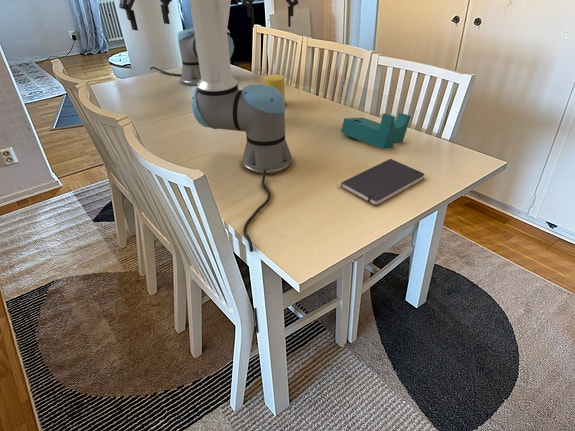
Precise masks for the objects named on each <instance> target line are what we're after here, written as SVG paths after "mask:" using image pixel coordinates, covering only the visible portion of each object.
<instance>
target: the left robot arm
mask: <svg viewBox="0 0 575 431" xmlns="http://www.w3.org/2000/svg"><path fill="white" fill-rule="evenodd" d="M159 1H160V3H161V4H160V10H161V15H162V20H163V24H165V25H171V22H170V18H169V17H170V16H169V14H170V7H169V5H170V4H171V2H173V0H159ZM223 1H224V10H225V20H226V29H227V38H228V47H229V56H230V59H231V58H232V56H233V54H234V51H235V50H234V49H235V44H234V40H233V38H232V37H231V32H230V30H229V29H228V25H229V18H230V11H231V10H230V9H231V1H232V0H223ZM135 2H136V0H119V4H118V7H119V9H121V10H124V11H125V14H126V17H127V20H128V21H129V22H130V26H131V30H132V31H139V29H138V24H137V20H136V14H135V10H134V9H133V6H134V3H135ZM177 43H178V46H179V47H178V48H179V53H180V59H181V63H182V67H181V73H173V72H169V71H168V72H167V71H164V70H162V69H161V68H160V69H159V68H158V67H155V66H151V67H150V69H149V70H156V71H157V72H161V73H163V74H165V75H168V76H169V75H170V76H176V77H180V82H181V83H182V84H183V85H187V86H197V83H198V82H199V81H200V80H201V73H200V67H199V60H198V54H197V47H196V41H195V34H194V28H193V27H192V28H187V29H183V30H179V31H178V33H177Z"/></svg>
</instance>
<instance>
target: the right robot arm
mask: <svg viewBox="0 0 575 431" xmlns="http://www.w3.org/2000/svg"><path fill="white" fill-rule="evenodd" d="M285 1H286V3H287V4H288V6H287V15H288V16H287V17H288V18H287V21H288V22H287V24H288V25H287V26H288V28H291V25H292V24H291V23H292V22H291V17H294V7H295V6H296V5H297V6H298V5H299V0H293V1H292V0H285ZM188 2H189V8H190V15H191V20H192V26H193V27H192V28H194V34H195V41H196V47H197V54H198V60H199V67H200V73H201V80H200V81H199V82H198V83H197V85H196V88H195V89H194V90H193V91H192V95H191V99H192V100H191V109H192V114H193V116H194V118H195V120H196V122H197V123H198V124H199V125H201V126H202V127H204V128H210V129H213V130H225V131H226V130H227V131H237V132H244V133H245V136H246V137H245V138H246V143H245V146H244V151H243V155H242V166H243V168H244V170H246V171H247V172H249V173H252V174H254V175H255V174H256V175H262V177H261V178H262V179H261V185H262V188H263V189H264V190H265V192H266V193H267V197H266V200H265V201H264V202H263V203H261V205H259V207H257V208H256V210H254V212H253V213H252V214H251V215H250V217H249V218H248V219H247V220H246V222H245V223H244V226H243V236H244V238H245V239H246V240H247V242H248V246H249V247H248V248H249V252H250V253H252V252H254V247H253V242H252V238H251V237H250V235H249V234H248V232H247V229H248V226H249V224H250V223H251V222H252V220H253V219H254V218H255V217H256V216H257V215H258V213H259V212H260V211H261V210H262V209H263V208H264V207H265V206H267V204H268V203H269V202H270V200H271V196H272V194H271V192H270V190H269V188H267V186H266V183H265V182H266V176H269V175H277V174H280V173H283V172H286V171H287V170H289V169H290V167H291V166H292V163H293V158H292V153H291V150H290V148H289V145H288V143H287V140H286V115H285V114H286V104H285V105H284V97H283V94H282V93H281V91H279V90H278V89H277V88H275V87H273V86H269V85H265V83H264V84H263V83H255V84H254V83H252V84H247V85H245V86H243V88H242V89H240V88H239V82H238V80H237V79H236V78H235V77H234V76H233V75H232V68H231V58H230V56H229V47H228V38H227V29H226V20H225V10H224V1H223V0H189V1H188ZM254 2H255V0H249V1H248V0H242V2H241V6H243V7H245V8H246V11H247V17H248V18H250V24H251V29H253V28H255V17H254V16H255V14H254V6H252V5H253V4H254ZM252 308H253V318H254V326H255V327H254V328H255V333H256V334H258V333H260V328H259V319H258V308H257V307H252Z"/></svg>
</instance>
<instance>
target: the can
mask: <svg viewBox="0 0 575 431" xmlns="http://www.w3.org/2000/svg"><path fill="white" fill-rule="evenodd" d="M263 80H264V84H265V85H269V86H273V87H275V88H277V89H278V90H279V91H281V93H282V94H283V97H284V105H285V106H286V99H285V98H286V97H285V96H286V95H285V94H286V93H285V92H286V91H285V76H284V75H282V74H268V75H266V76H264V77H263Z"/></svg>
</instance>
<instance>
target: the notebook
mask: <svg viewBox="0 0 575 431" xmlns="http://www.w3.org/2000/svg"><path fill="white" fill-rule="evenodd" d="M424 176H425V173H424V172H422V171H420V170H417V169H415V168H413V167H410V166H408V165H406V164H404V163H401V162H399V161H397V160H395V159H393V158H389V159H387V160H385V161H382V162H380V163H379V164H377V165H375V166H372V167H370V168H368V169H366V170H364V171H362V172H360V173H358V174H356V175H353V176H351V177H350V178H348V179H345V180H344V181H341V182H340V183H341V184H340V187H341V188H342V189H344V190H345V191H347V192H349V193H350V194H353V195H355V196H356V197H358V198H360V199H362V200H363V201H365V202H367V203H369V204H371V205H373V206H379V205H381V204H382V203H384V202H386V201H388V200H390V199H391V198H393V197H395V196H397V195H398V194H400V193H402V192H404V191H406V190H407V189H409V188H411V187H413V186H415V185H416V184H418V183H420V182H422V181H423V180H424Z"/></svg>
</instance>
